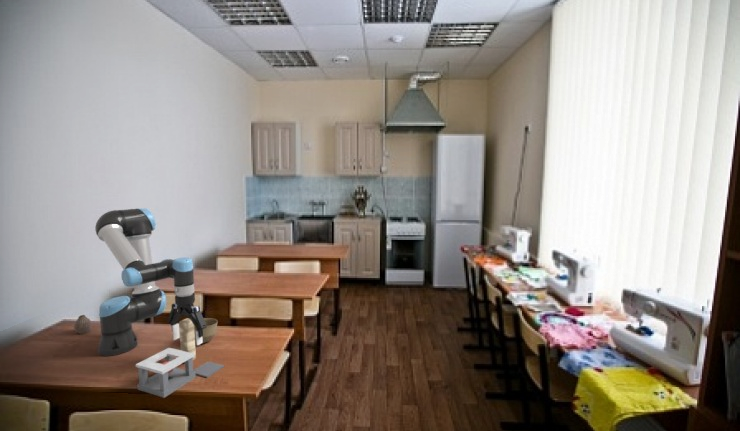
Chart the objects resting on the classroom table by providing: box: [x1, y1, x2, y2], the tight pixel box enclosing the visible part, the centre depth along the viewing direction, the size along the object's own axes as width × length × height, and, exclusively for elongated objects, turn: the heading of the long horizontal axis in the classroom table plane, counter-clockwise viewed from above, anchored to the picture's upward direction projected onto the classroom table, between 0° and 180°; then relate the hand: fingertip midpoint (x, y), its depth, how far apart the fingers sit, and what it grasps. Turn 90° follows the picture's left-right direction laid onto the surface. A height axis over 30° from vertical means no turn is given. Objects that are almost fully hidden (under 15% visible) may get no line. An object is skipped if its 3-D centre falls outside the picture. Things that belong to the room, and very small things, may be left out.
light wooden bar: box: [178, 317, 197, 361], centre depth 153 cm, size 4×4×18 cm
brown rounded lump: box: [73, 314, 92, 335], centre depth 182 cm, size 7×7×9 cm
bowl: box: [194, 317, 218, 344], centre depth 172 cm, size 13×13×10 cm
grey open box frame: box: [135, 347, 197, 399], centre depth 136 cm, size 14×14×10 cm
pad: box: [193, 361, 225, 379], centre depth 146 cm, size 9×9×1 cm
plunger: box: [160, 360, 173, 377], centre depth 136 cm, size 4×4×5 cm
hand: (187, 341), depth 153 cm, fingers open, 13 cm apart
